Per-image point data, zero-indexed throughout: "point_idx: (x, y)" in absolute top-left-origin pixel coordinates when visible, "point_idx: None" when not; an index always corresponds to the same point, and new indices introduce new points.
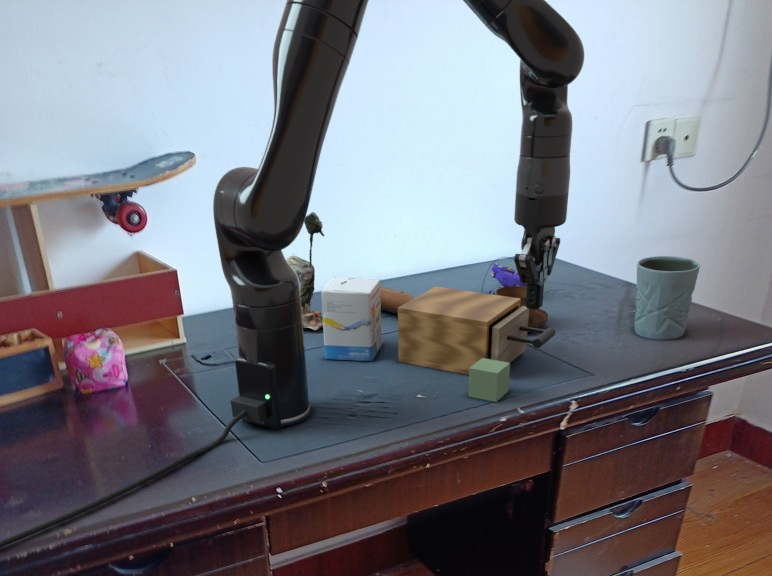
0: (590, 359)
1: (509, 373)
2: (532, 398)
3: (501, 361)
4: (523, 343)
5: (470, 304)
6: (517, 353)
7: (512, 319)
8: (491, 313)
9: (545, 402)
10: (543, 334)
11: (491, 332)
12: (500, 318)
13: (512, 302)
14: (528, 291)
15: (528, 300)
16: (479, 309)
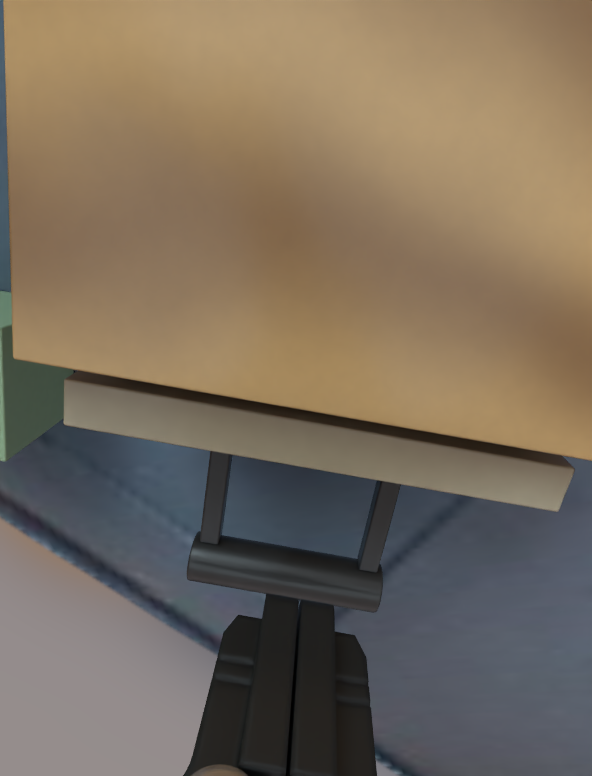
0: (465, 609)
1: (32, 440)
2: (57, 493)
3: (1, 424)
4: None
5: (391, 87)
6: None
7: (270, 461)
8: (202, 343)
9: (46, 533)
10: (258, 586)
11: None
12: None
13: (521, 431)
14: (203, 726)
15: (220, 659)
16: (268, 220)
